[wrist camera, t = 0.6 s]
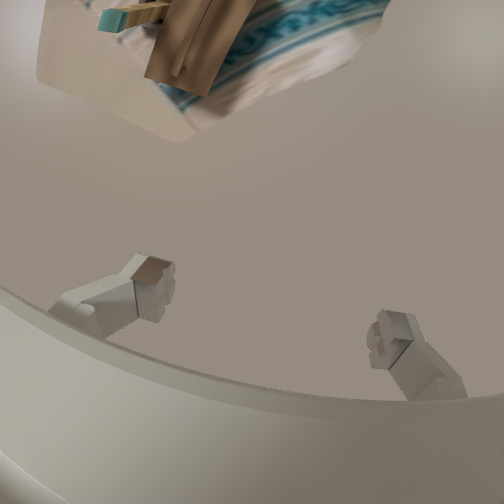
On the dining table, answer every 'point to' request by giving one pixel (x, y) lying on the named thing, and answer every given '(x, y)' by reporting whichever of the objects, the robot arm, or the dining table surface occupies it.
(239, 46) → the dining table surface
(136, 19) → the wooden key
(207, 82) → the toolbox
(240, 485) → the robot arm
